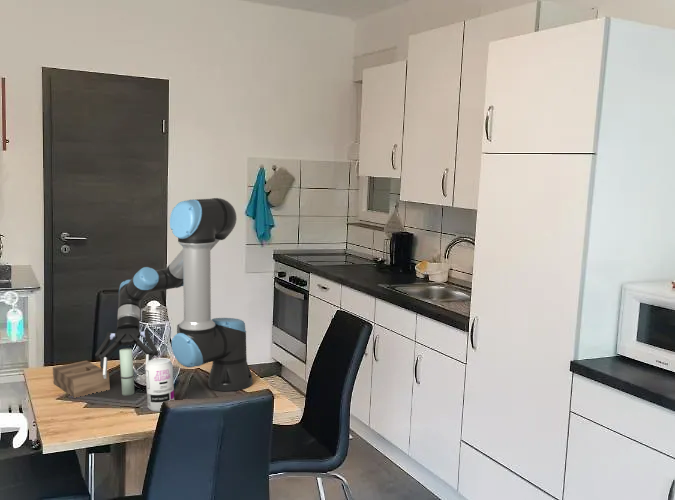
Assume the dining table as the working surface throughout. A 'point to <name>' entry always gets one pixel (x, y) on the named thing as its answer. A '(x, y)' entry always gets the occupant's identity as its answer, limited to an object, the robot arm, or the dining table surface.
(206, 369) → the dining table surface
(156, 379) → the supplement can
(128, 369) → the peg
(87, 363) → the socket block
